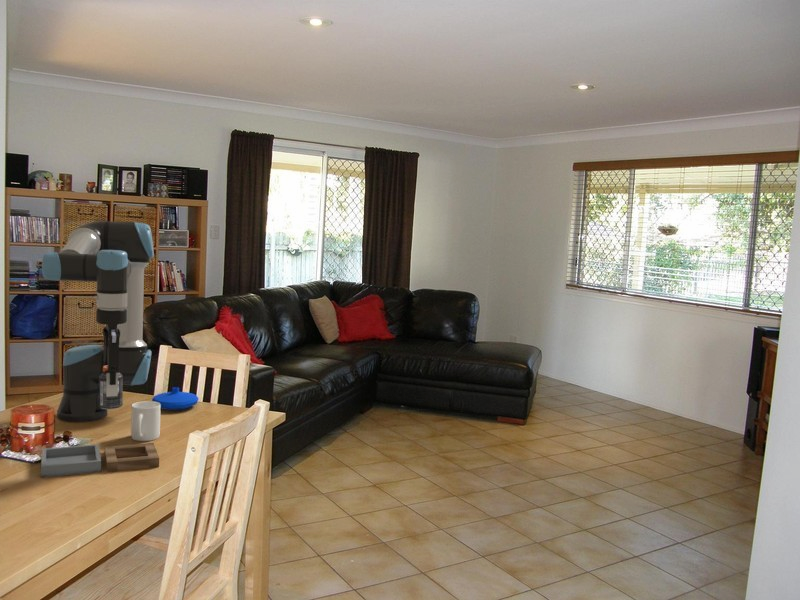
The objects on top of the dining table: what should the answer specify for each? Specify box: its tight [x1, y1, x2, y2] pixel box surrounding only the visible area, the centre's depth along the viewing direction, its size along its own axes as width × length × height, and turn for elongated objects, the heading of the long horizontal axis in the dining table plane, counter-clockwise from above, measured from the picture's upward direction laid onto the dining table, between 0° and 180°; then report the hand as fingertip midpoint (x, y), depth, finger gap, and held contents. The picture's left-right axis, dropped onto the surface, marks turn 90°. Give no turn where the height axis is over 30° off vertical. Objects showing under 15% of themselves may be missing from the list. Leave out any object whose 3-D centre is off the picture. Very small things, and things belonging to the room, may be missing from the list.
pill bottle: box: [99, 365, 124, 410], centre depth 184 cm, size 6×6×11 cm
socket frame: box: [104, 442, 160, 473], centre depth 190 cm, size 16×13×2 cm
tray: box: [40, 443, 102, 479], centre depth 182 cm, size 14×14×3 cm
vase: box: [151, 386, 199, 411], centre depth 242 cm, size 16×16×7 cm
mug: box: [130, 400, 162, 442], centre depth 206 cm, size 12×8×10 cm
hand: (110, 392), depth 184 cm, fingers closed on pill bottle, 6 cm apart
